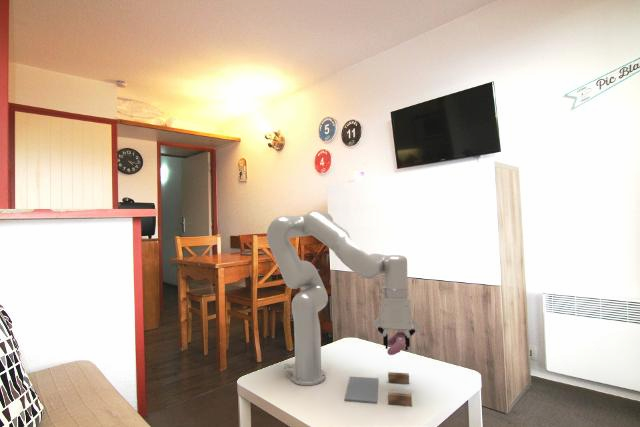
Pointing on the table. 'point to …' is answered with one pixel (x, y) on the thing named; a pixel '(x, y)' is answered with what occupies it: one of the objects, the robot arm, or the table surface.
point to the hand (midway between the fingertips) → (396, 347)
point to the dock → (399, 398)
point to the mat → (362, 390)
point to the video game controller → (396, 343)
